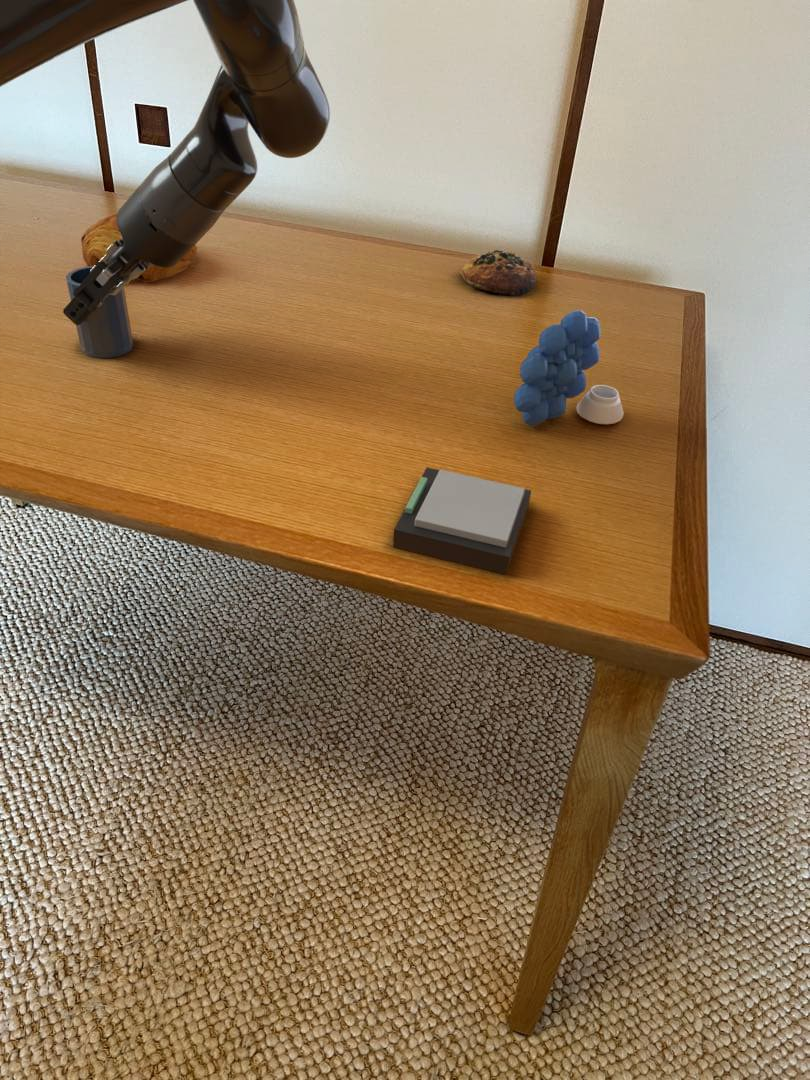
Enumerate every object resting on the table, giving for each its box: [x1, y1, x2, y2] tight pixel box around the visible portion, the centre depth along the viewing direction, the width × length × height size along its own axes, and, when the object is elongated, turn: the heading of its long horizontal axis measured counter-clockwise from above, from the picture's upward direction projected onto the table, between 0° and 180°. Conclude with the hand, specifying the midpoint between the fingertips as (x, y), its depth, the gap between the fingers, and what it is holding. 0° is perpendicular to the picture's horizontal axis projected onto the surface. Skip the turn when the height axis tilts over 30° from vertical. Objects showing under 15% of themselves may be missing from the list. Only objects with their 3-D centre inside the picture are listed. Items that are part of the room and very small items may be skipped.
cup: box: [65, 266, 134, 359], centre depth 92 cm, size 6×6×8 cm
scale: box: [392, 467, 532, 576], centre depth 72 cm, size 10×10×3 cm
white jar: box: [576, 384, 625, 425], centre depth 88 cm, size 5×3×5 cm
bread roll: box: [459, 249, 537, 297], centre depth 116 cm, size 11×11×5 cm
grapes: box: [513, 309, 601, 426], centre depth 85 cm, size 12×7×12 cm, turn 130°
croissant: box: [80, 211, 198, 283], centre depth 112 cm, size 14×16×8 cm
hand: (86, 305), depth 92 cm, fingers open, 6 cm apart
